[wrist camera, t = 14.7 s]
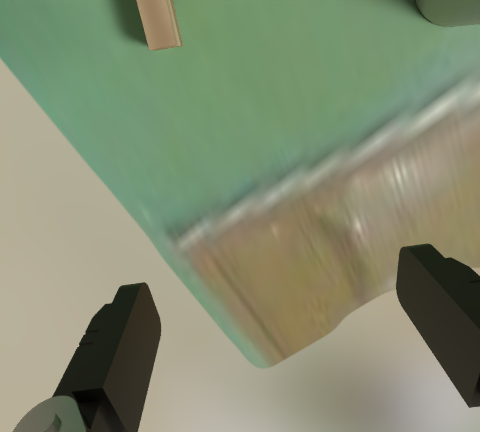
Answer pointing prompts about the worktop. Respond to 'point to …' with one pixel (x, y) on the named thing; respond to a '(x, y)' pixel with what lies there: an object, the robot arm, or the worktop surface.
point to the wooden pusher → (160, 24)
